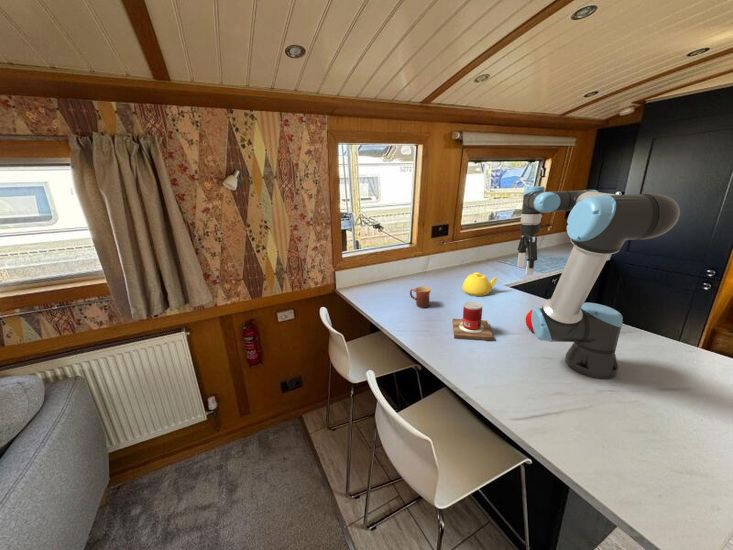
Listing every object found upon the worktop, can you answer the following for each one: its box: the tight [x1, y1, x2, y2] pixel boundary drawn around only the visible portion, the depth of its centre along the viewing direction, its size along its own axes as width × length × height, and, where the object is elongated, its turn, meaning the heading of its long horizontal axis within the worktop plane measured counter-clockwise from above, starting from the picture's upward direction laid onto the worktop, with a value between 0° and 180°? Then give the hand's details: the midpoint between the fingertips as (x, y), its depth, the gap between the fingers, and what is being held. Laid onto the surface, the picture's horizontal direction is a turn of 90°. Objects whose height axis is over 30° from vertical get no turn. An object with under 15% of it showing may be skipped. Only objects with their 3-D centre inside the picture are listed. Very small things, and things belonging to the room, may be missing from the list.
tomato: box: [525, 309, 534, 333], centre depth 128 cm, size 10×11×11 cm
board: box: [452, 318, 494, 342], centre depth 133 cm, size 16×16×2 cm
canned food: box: [462, 301, 483, 330], centre depth 131 cm, size 8×8×11 cm
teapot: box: [461, 272, 498, 297], centre depth 178 cm, size 20×19×13 cm
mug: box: [409, 286, 432, 309], centre depth 162 cm, size 12×9×10 cm
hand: (524, 270), depth 130 cm, fingers open, 13 cm apart
